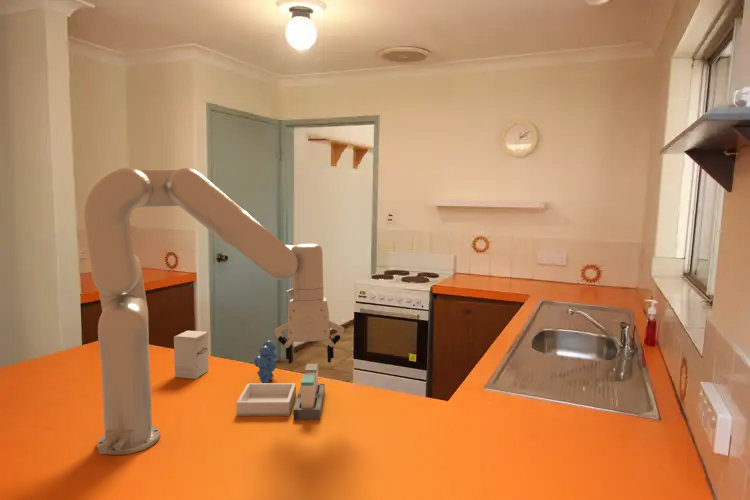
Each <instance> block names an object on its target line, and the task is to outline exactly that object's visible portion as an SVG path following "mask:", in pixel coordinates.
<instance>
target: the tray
mask: <svg viewBox="0 0 750 500" xmlns="http://www.w3.org/2000/svg"><path fill="white" fill-rule="evenodd" d="M296 387H297V384H296V382H277V383H276V382H267V383H262V382H260V383H259V382H253V383H252V382H250V383H249V382H248V383H247V384H246V385H245V388H244V389H243V390H242V392H241V394H240V396H239V398H238V399H237V401H236V403H235V405H236V407H235V408H236V417H282V416H283V417H290V415H291V413H292V409H293V406H294V404H295V403H294V402H295V401H296V398H297V397H296V396H297V388H296Z"/></svg>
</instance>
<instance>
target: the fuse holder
mask: <svg viewBox="0 0 750 500" xmlns="http://www.w3.org/2000/svg"><path fill="white" fill-rule="evenodd" d="M325 384H326V383H318V394H315V408H301V386H300V387H299V390H298V393H297V397H296V399H295V403H294V405H293V406H294V407H293V414H292V415H293V420H295V421H296V420H298V421H299V420H302V421H303V420H304V421H305V420H307V421H308V420H310V421H311V420H312V421H314V420H316V421H317V420H319V421H320V420H321V419H320V418H321V414H322V410H323V403H324V398H325V393H326V392H325V391H326V389H325V386H326V385H325Z"/></svg>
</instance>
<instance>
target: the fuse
mask: <svg viewBox="0 0 750 500" xmlns="http://www.w3.org/2000/svg"><path fill="white" fill-rule="evenodd" d="M304 375H315V394H318V384H319V364H318V363H306V365H305V369H304Z"/></svg>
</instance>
